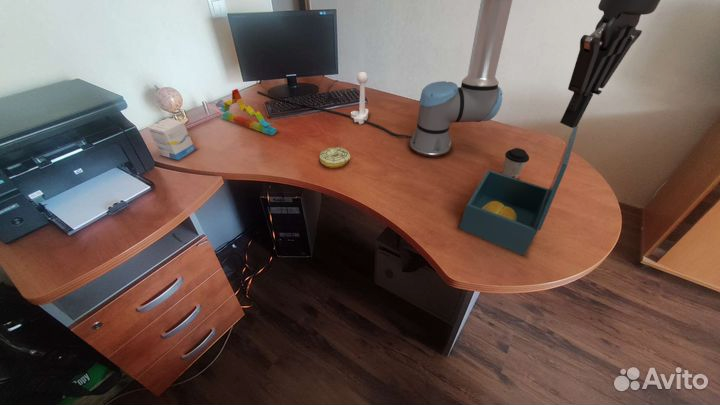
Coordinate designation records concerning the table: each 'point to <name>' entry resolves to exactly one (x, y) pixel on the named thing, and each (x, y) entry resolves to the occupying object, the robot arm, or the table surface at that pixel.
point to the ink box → (172, 138)
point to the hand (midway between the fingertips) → (568, 124)
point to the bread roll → (500, 210)
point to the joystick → (361, 100)
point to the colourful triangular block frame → (261, 126)
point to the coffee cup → (514, 162)
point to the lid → (557, 177)
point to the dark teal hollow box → (511, 194)
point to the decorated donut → (334, 157)
